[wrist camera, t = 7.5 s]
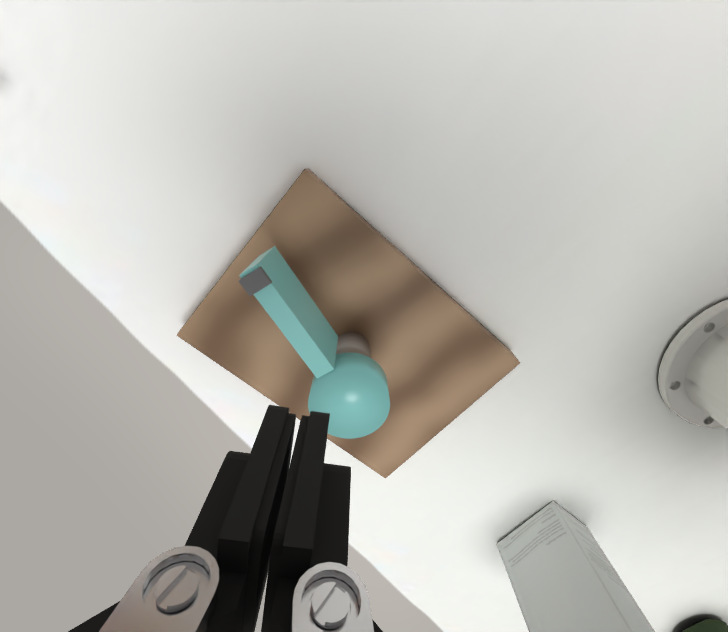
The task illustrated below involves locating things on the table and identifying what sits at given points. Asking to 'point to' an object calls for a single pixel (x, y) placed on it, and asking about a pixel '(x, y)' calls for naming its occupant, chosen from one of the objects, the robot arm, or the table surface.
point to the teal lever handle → (320, 351)
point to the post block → (352, 324)
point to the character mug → (708, 626)
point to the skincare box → (566, 578)
